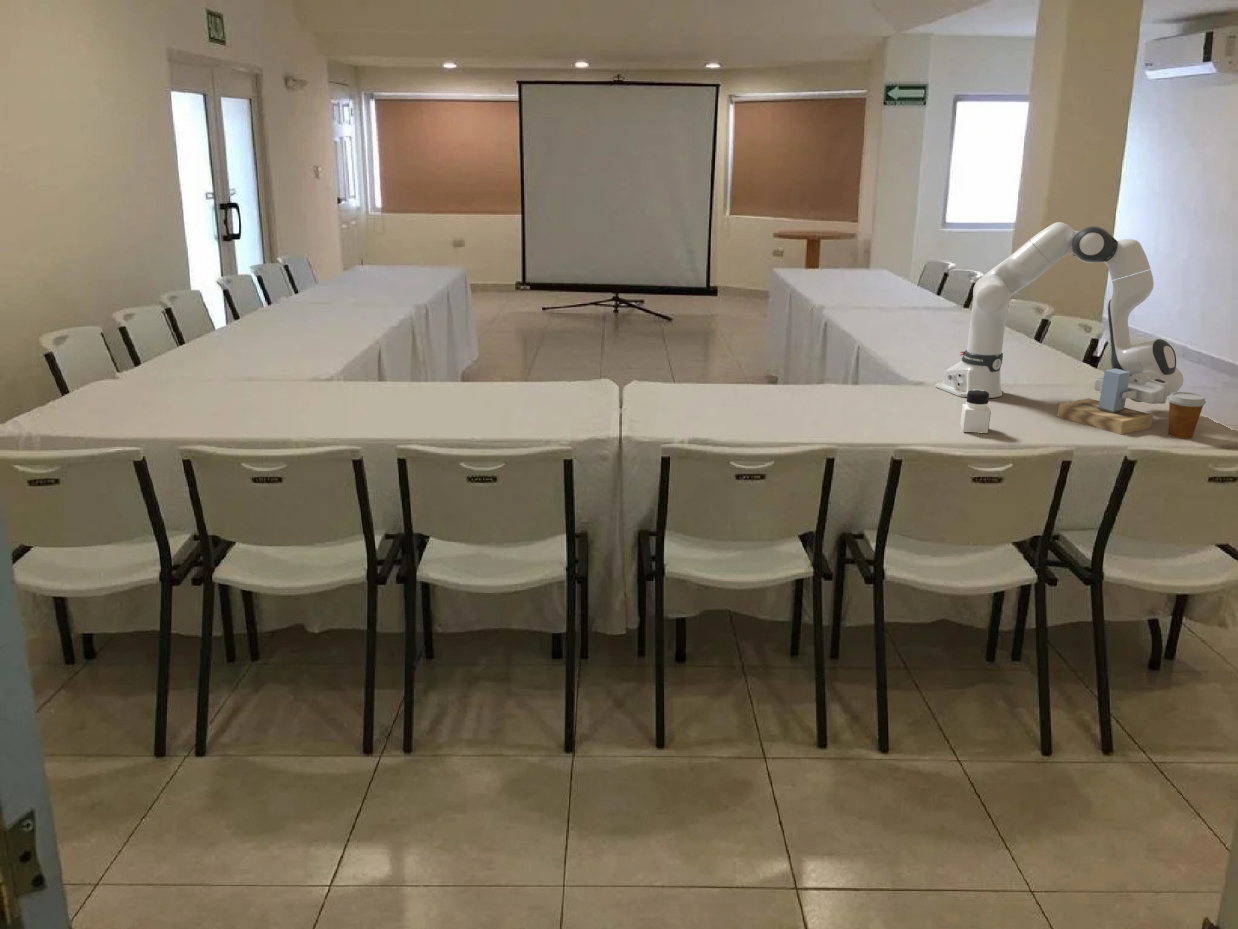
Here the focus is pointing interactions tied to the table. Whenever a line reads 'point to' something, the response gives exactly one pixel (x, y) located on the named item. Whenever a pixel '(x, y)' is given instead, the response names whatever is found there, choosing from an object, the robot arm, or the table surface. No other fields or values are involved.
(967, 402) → the medicine bottle
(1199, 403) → the disposable coffee cup
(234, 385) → the table surface
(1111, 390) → the block
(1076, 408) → the board
